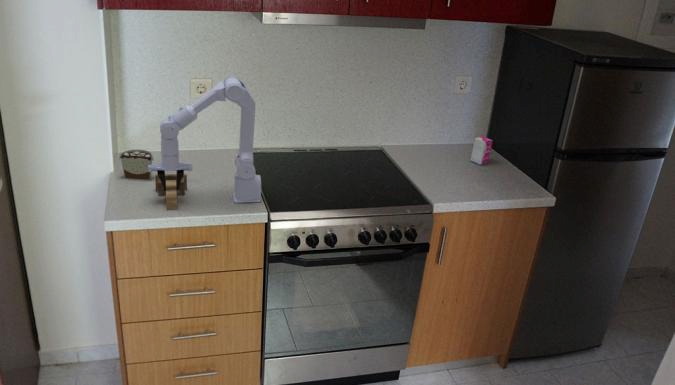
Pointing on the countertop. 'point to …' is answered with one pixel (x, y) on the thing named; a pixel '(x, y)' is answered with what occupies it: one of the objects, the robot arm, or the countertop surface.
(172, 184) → the rail
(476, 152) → the supplement box
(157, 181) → the brown wooden stool
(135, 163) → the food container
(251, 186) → the robot arm
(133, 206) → the countertop surface
